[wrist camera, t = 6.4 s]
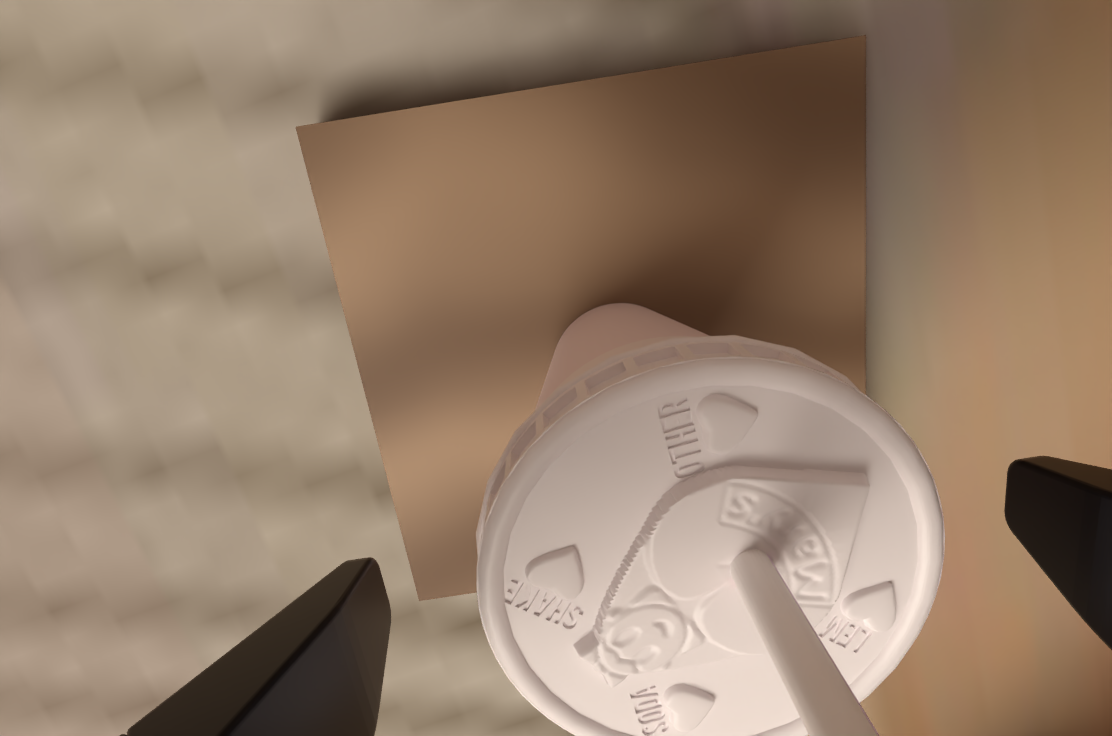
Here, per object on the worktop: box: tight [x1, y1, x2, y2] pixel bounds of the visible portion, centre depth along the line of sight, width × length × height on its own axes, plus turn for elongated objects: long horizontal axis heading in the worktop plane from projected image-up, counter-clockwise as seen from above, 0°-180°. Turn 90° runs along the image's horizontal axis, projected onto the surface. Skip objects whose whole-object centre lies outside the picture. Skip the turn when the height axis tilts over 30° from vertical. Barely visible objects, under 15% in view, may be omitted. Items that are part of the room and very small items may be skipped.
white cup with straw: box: [476, 303, 945, 736], centre depth 11 cm, size 6×6×14 cm
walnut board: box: [296, 35, 866, 601], centre depth 18 cm, size 14×14×2 cm
